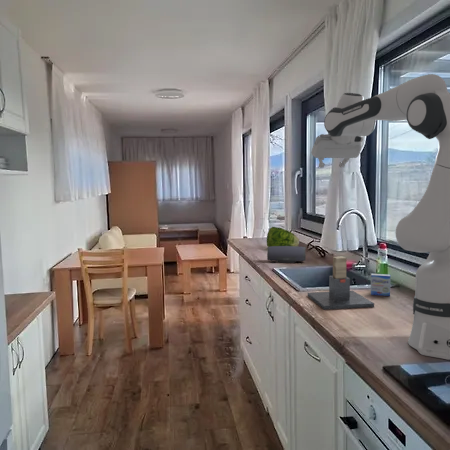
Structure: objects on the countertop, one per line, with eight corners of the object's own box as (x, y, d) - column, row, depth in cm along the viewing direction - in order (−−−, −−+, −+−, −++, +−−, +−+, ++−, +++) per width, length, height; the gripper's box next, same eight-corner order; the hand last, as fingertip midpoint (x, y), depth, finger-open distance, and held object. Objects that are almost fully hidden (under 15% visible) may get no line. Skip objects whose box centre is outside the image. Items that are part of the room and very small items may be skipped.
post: (346, 297, 171) (346, 258, 170) (336, 298, 171) (336, 258, 169) (342, 295, 175) (342, 256, 174) (332, 295, 175) (332, 256, 173)
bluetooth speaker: (305, 261, 263) (305, 245, 262) (305, 264, 254) (305, 247, 253) (268, 260, 267) (268, 244, 266) (267, 263, 258) (267, 247, 257)
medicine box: (370, 295, 182) (370, 275, 182) (370, 292, 187) (370, 272, 186) (390, 296, 180) (390, 276, 179) (390, 293, 184) (390, 274, 183)
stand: (374, 307, 165) (374, 281, 164) (324, 309, 162) (324, 283, 161) (352, 293, 184) (352, 271, 184) (307, 296, 182) (307, 273, 181)
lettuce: (296, 258, 308) (302, 243, 296) (264, 253, 308) (269, 238, 296) (296, 241, 320) (301, 226, 308) (265, 236, 319) (269, 221, 307)
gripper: (321, 137, 160) (312, 170, 167) (367, 138, 166) (356, 170, 174) (313, 131, 165) (305, 163, 172) (358, 131, 171) (348, 163, 179)
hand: (331, 167), depth 173 cm, fingers open, 8 cm apart
